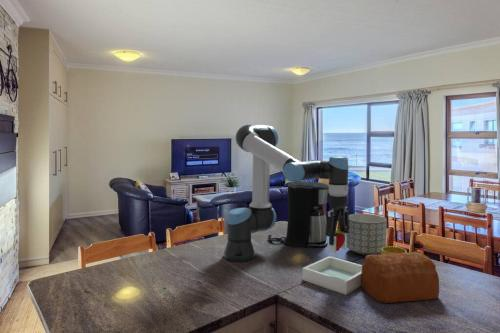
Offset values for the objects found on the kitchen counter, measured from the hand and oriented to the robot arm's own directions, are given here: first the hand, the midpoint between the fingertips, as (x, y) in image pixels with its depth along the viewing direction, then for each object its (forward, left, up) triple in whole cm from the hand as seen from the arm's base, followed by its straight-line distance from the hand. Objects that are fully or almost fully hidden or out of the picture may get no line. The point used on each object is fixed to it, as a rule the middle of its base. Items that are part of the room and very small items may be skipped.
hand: (337, 250), depth 144 cm
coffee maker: (-44, +34, -13) cm, 57 cm away
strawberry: (0, 0, -1) cm, 1 cm away
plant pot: (+13, +25, -13) cm, 31 cm away
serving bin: (0, 0, -13) cm, 13 cm away
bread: (+23, +6, -13) cm, 27 cm away
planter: (-7, +39, -13) cm, 42 cm away
